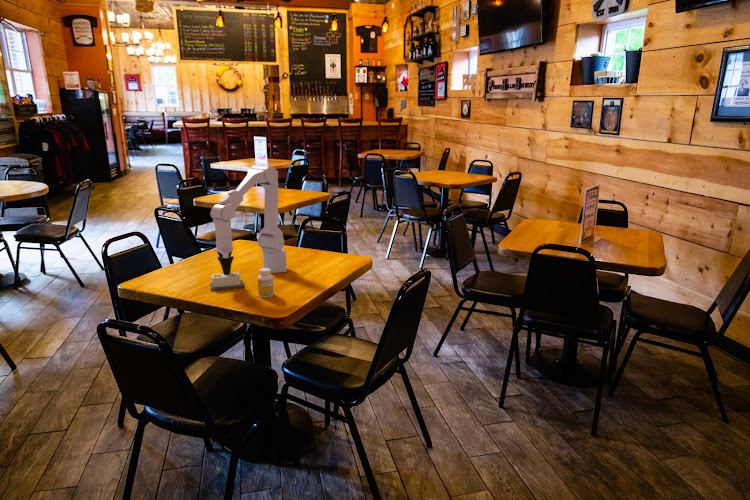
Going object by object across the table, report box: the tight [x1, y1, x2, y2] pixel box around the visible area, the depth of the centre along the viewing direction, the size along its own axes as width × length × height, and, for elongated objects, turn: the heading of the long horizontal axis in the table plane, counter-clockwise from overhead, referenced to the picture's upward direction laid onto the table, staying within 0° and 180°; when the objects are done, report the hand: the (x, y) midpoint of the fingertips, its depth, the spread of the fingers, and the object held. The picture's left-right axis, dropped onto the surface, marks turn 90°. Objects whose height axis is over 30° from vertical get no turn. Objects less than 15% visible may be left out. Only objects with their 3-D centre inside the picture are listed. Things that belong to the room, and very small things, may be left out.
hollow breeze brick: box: [211, 272, 241, 287], centre depth 190 cm, size 10×5×4 cm, turn 108°
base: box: [210, 274, 245, 292], centre depth 191 cm, size 12×7×4 cm, turn 108°
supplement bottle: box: [257, 267, 275, 298], centre depth 181 cm, size 5×5×10 cm
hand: (226, 271), depth 190 cm, fingers open, 7 cm apart
